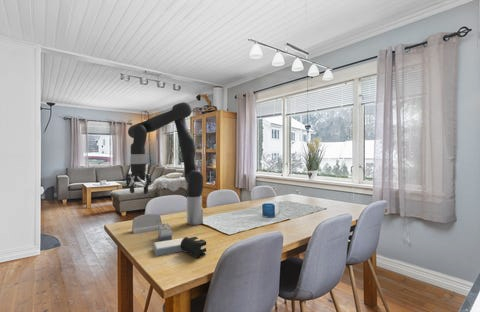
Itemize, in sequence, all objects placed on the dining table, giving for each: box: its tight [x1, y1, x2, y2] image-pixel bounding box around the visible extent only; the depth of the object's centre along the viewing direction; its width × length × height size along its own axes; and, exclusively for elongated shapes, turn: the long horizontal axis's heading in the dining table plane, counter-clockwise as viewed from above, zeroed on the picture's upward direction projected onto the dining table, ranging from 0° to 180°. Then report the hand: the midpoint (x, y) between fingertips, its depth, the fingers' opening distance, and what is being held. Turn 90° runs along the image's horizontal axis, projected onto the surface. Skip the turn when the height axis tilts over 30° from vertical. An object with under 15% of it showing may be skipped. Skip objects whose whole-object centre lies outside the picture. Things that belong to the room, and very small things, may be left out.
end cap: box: [181, 236, 207, 259], centre depth 110 cm, size 10×7×7 cm
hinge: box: [131, 213, 163, 235], centre depth 145 cm, size 17×5×10 cm, turn 122°
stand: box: [152, 237, 184, 257], centre depth 116 cm, size 14×9×3 cm, turn 117°
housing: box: [157, 223, 173, 242], centre depth 128 cm, size 5×10×8 cm, turn 27°
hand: (138, 193), depth 133 cm, fingers open, 8 cm apart
